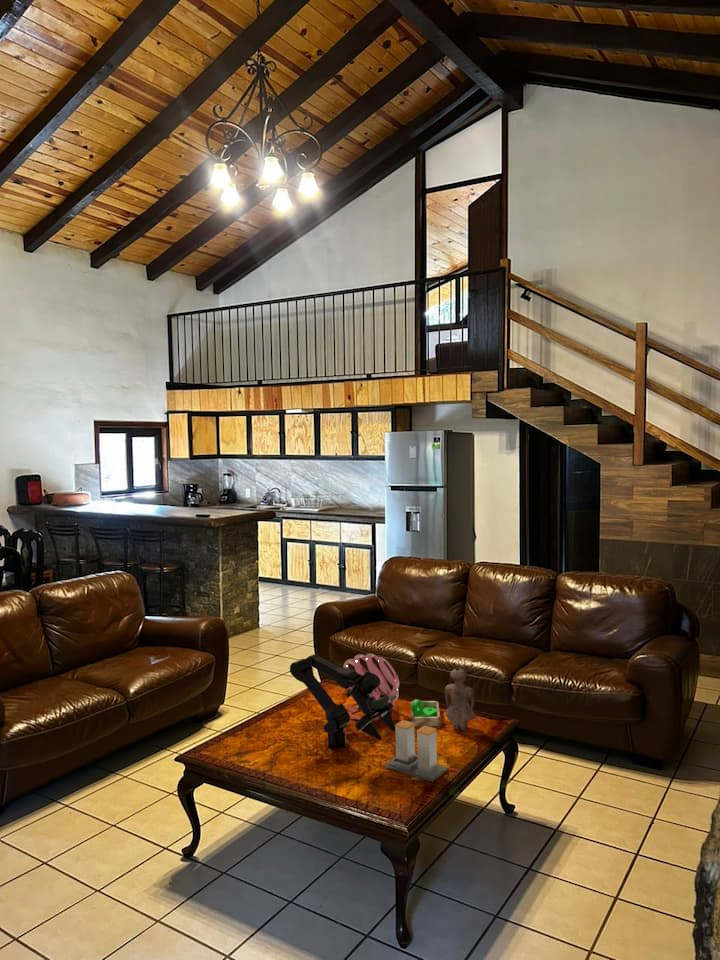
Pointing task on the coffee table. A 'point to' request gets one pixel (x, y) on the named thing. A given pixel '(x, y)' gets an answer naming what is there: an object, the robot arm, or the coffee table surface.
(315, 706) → the coffee table surface
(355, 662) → the spiral basket
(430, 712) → the mechanical part
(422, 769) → the housing
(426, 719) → the parts corral
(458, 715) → the clay figurine
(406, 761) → the post
